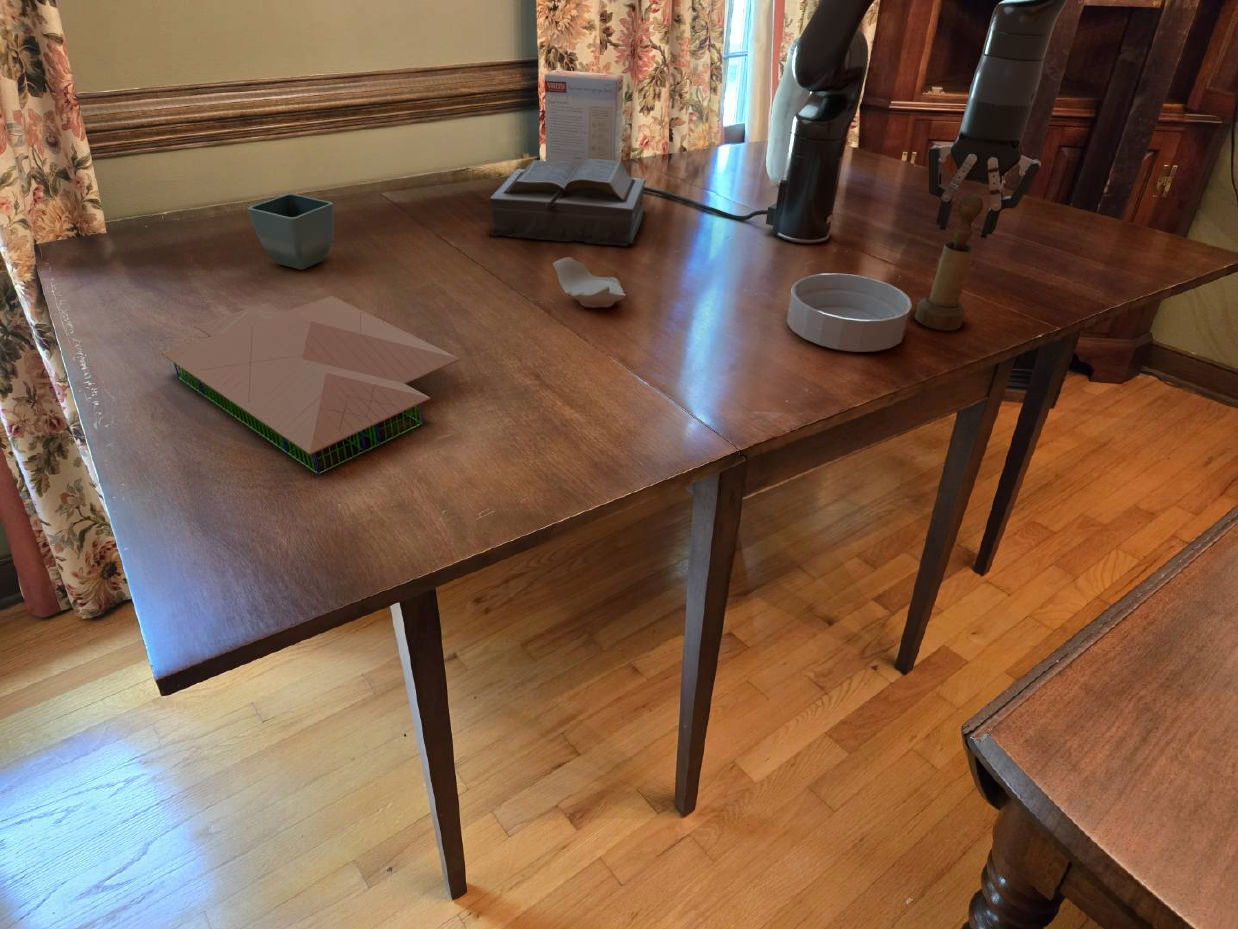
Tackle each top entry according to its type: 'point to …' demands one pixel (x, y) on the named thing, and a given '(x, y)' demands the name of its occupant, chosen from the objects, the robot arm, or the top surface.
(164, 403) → the top surface
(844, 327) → the pan
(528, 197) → the bible
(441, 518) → the top surface
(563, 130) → the cracker box
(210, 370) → the house
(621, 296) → the pottery shard
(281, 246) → the flower pot
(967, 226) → the mortar and pestle
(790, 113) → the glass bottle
